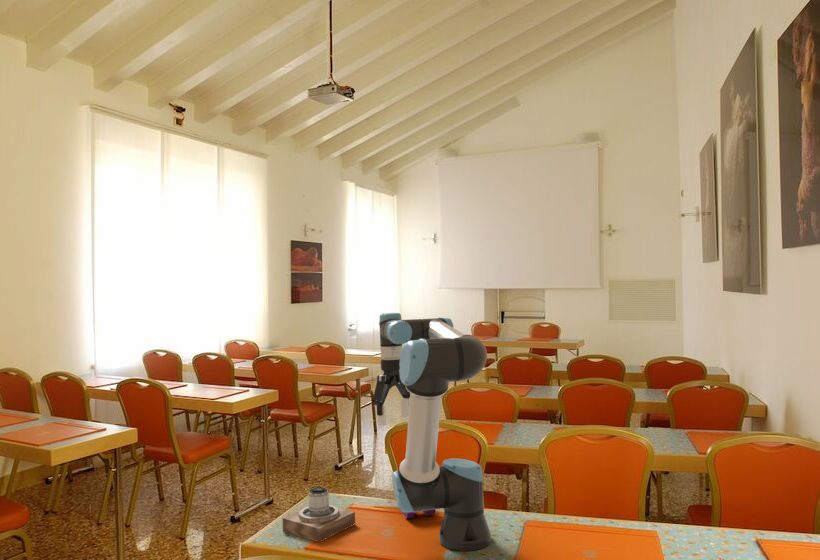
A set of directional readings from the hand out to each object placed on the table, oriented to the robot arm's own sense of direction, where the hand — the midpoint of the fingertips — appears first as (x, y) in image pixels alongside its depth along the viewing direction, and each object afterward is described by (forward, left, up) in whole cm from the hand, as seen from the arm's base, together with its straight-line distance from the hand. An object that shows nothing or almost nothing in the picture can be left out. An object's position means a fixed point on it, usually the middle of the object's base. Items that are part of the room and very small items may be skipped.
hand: (393, 421), depth 214 cm
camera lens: (+11, +26, -26) cm, 38 cm away
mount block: (+11, +26, -30) cm, 41 cm away
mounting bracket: (-6, -2, -30) cm, 31 cm away
